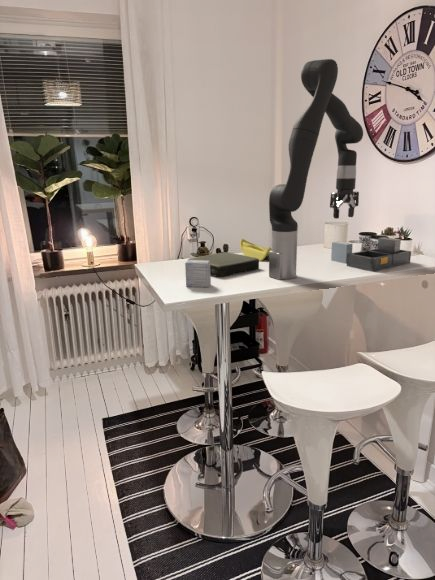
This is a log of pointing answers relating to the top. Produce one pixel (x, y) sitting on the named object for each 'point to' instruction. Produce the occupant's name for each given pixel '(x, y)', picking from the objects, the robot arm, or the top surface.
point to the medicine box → (197, 273)
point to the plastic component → (254, 250)
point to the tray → (380, 256)
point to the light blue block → (340, 251)
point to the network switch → (229, 263)
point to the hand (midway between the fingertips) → (343, 217)
